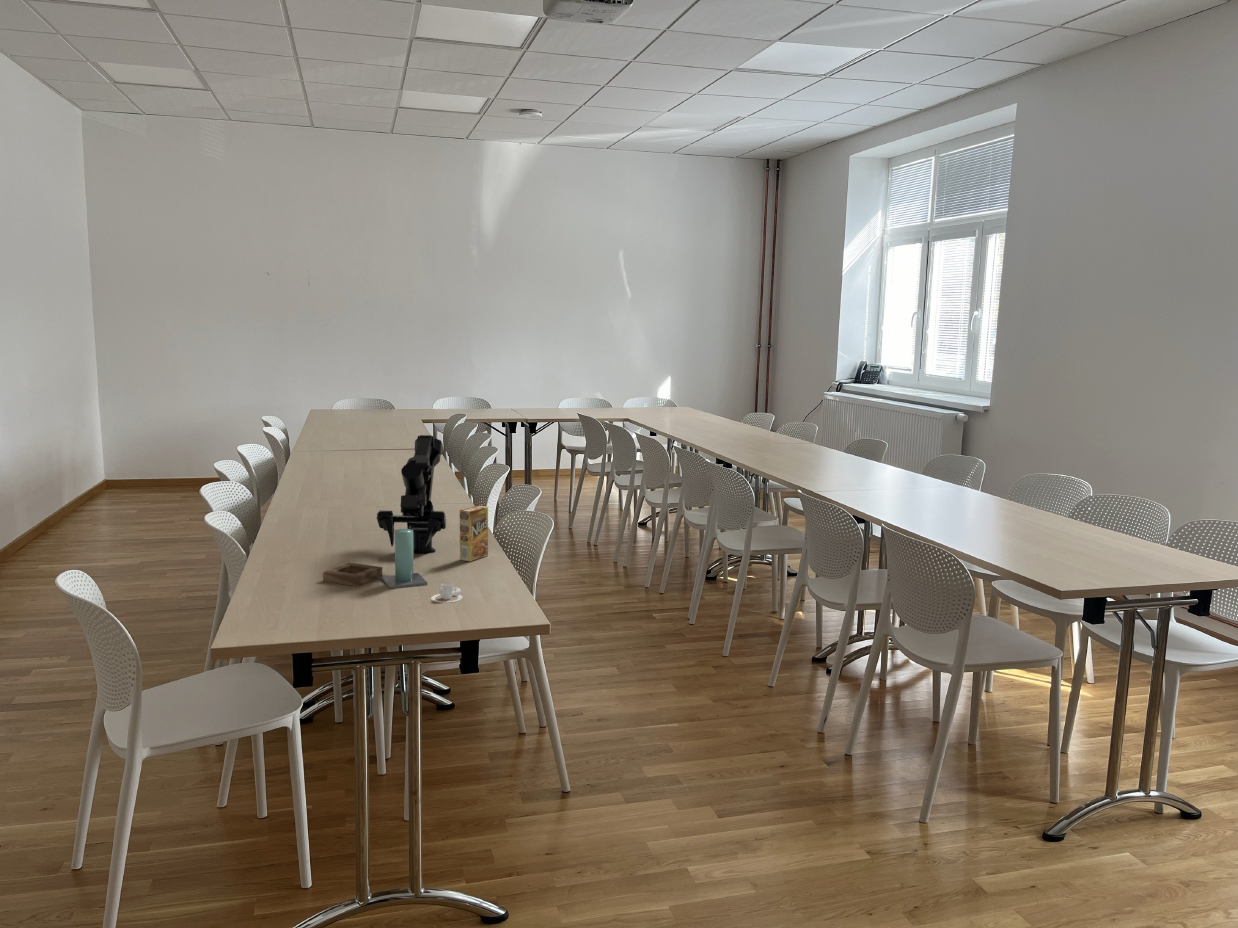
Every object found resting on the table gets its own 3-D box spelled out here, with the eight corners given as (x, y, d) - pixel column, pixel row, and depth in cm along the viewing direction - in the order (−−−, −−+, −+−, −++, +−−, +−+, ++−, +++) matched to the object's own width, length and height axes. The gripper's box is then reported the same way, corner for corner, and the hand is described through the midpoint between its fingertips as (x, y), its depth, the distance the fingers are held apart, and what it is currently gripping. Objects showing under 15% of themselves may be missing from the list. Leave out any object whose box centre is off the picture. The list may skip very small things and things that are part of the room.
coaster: (381, 578, 237) (381, 576, 237) (418, 574, 242) (418, 572, 242) (389, 588, 228) (389, 586, 228) (427, 584, 233) (427, 582, 233)
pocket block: (349, 571, 244) (349, 562, 243) (382, 575, 240) (382, 566, 239) (323, 581, 233) (323, 572, 233) (357, 586, 230) (357, 577, 229)
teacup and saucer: (455, 592, 228) (454, 577, 227) (471, 599, 222) (471, 584, 222) (425, 598, 222) (424, 583, 222) (440, 606, 216) (440, 590, 216)
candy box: (470, 562, 256) (470, 511, 254) (458, 560, 258) (458, 509, 256) (488, 555, 264) (489, 506, 262) (477, 553, 266) (477, 504, 264)
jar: (391, 579, 235) (391, 530, 233) (406, 575, 238) (405, 527, 236) (402, 582, 232) (402, 533, 230) (417, 579, 235) (416, 530, 233)
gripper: (377, 482, 243) (369, 530, 234) (444, 483, 244) (439, 531, 235) (383, 503, 252) (376, 550, 243) (448, 504, 253) (443, 551, 244)
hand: (408, 545), depth 241 cm, fingers open, 9 cm apart
